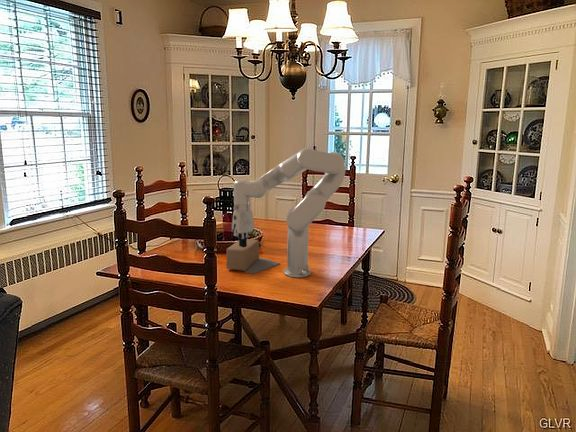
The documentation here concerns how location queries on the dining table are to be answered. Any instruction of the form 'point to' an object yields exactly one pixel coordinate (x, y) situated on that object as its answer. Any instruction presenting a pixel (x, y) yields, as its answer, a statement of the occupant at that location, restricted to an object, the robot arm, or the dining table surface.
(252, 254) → the wooden block
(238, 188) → the robot arm
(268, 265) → the mat
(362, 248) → the dining table surface
